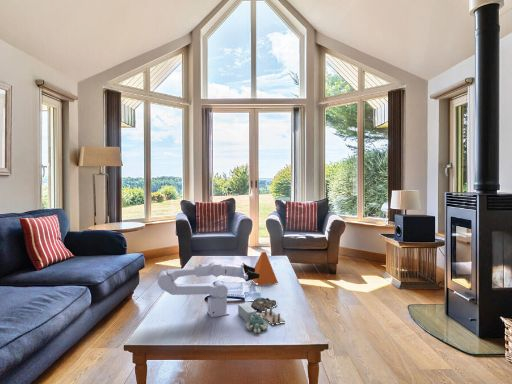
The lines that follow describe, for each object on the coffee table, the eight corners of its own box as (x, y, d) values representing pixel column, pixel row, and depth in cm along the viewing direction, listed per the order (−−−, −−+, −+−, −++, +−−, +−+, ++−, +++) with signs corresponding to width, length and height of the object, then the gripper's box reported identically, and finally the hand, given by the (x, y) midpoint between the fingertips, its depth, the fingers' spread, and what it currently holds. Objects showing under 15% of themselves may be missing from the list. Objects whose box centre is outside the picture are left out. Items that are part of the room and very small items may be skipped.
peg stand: (272, 325, 155) (272, 317, 155) (260, 315, 167) (260, 307, 166) (284, 323, 158) (285, 314, 158) (272, 313, 170) (272, 305, 169)
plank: (247, 323, 158) (247, 312, 158) (238, 313, 169) (238, 304, 168) (256, 321, 160) (256, 311, 159) (246, 312, 170) (246, 302, 170)
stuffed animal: (245, 323, 144) (245, 308, 156) (244, 338, 146) (245, 321, 158) (269, 323, 145) (267, 308, 157) (268, 338, 146) (267, 321, 158)
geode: (276, 300, 189) (250, 300, 189) (276, 293, 189) (250, 293, 188) (280, 313, 170) (251, 313, 170) (280, 306, 170) (251, 306, 169)
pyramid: (249, 278, 229) (249, 250, 228) (270, 276, 234) (270, 248, 233) (255, 285, 214) (256, 255, 213) (278, 283, 219) (279, 253, 218)
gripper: (237, 268, 163) (262, 271, 167) (230, 258, 176) (254, 260, 181) (234, 282, 163) (259, 284, 168) (228, 270, 177) (251, 273, 181)
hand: (256, 273), depth 174 cm, fingers open, 7 cm apart
